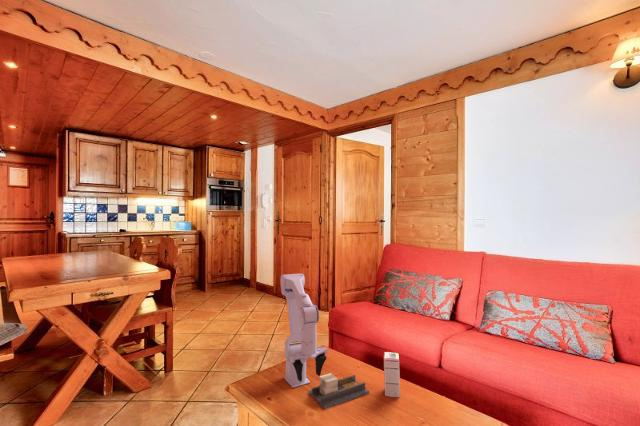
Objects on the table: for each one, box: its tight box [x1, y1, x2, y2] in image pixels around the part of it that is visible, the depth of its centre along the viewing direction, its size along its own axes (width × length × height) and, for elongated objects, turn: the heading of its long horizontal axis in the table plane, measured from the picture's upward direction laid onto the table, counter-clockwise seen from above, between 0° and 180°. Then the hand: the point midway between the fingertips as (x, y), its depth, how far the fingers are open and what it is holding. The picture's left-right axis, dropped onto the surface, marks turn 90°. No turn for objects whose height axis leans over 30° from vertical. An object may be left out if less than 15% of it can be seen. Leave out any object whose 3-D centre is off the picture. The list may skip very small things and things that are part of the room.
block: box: [319, 372, 339, 395], centre depth 119 cm, size 5×5×6 cm
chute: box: [308, 374, 370, 410], centre depth 121 cm, size 12×20×3 cm, turn 119°
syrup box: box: [383, 351, 401, 398], centre depth 121 cm, size 6×6×14 cm
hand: (309, 377), depth 115 cm, fingers open, 7 cm apart
